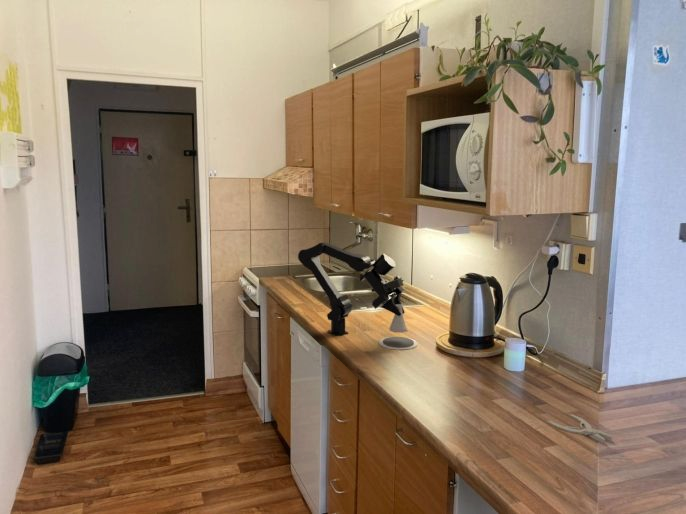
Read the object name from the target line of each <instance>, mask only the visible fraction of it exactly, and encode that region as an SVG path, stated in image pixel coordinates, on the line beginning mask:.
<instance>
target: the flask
mask: <svg viewBox="0 0 686 514" xmlns="http://www.w3.org/2000/svg"><path fill="white" fill-rule="evenodd" d="M396 306H397V308H398V309H399V311H400V313H401V315H400V316H398V315H396V314H394V316H393V318H392V320H391V322H390V326H389V328H388V331H390V332H393V333H406V332H408V329H407V325H406V321H405V318H404V314H403V313H402V308H403V309H404V305H403V304H402V305H396Z"/></svg>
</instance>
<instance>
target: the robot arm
mask: <svg viewBox="0 0 686 514" xmlns="http://www.w3.org/2000/svg"><path fill="white" fill-rule="evenodd" d="M323 254H325V255H327V256H329V257H331V258H333V259H336V260H338V261H340V262H343V263H345V264H346V265H348V267H349V268H351V269H352V270H353V271H355V272H357V273H360V274H359V282H362V281H364V280H365V281H366V282H367V283H368V285H369V286H370V287H371V288H372V289H371V292H372V293H375V294H376V295H377V297H376V298H374V300H372V304H371V305H372V307H373V308H374V309H375V310H376V309H377V308H378V309H379V308H381V309H383V310H387V312H390V313H392V314H394V315H395V314H396V315H398V316H400V315H401V313H400V311H399V309H398V308H397V306H396V305H403V304H402V302H401V295H402V294H403V293H404V292H405V289H404V288H403V286H404V279H403V278H402V277H401V276H400V275H397V276H394V277H393V280H388V279H384V278H383V276H385V277H386V276H387V274H389V273H390V272H391V271H392V270H394V268H395V267H396V266H397V264H396V262H395V260H394V259H393V258H391V257H390V256H389V255H386V253H382V254H381V255H380V256H379V257H378V258H377V259H375V260H374V259H371V258H370V256H368V255H365V254H364V255H363V254H361V253H353V252H350V251H348V250H344V249H343V248H340V247H337V246H336V245H333V244H330V243H329V242H327V241H322V242H319V243H318V244H316V245H314V246H312V247H308V248H305V249H301V250H299V252H298V254H297V259H298V262H300V263H301V264H302V266H303V267H304V268H306V269H307V270H309V271H310V272H311V273H312V275H313V276H314V278H315V280H316V281H317V283H318V284H319V286H320V287H321V288H322V290H323V293H325V295H326V296H327V298H328V300H329V306H330V308H331V311H330V312H329V313H327V315H326V317H327V320H328V321H330V329H328V330H327V333H329V334H331V335H334V336H341V335H346V334H347V335H348V334H349V331H347V330H346V318H348V317H349V315H350V314H351V312H352V310H353V304H352V300H351V299H349V297H348V295H347V294H346V293H345V294H341V293H340V291H339V290H338V289H337V287H336V286H335V284H334V283H333V282H332V280H331V278H330V276H329V275H328V273H327V272H326V271H325V269H324V267H323V266H322V265H321V258H320V257H321V255H323ZM364 271H365V272H364ZM361 272H364V273H361ZM402 313H403V315H404V314H405V309H404V307H403V308H402Z"/></svg>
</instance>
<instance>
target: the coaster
mask: <svg viewBox="0 0 686 514" xmlns="http://www.w3.org/2000/svg"><path fill="white" fill-rule="evenodd" d="M378 344H379V345H380V346H381V347H382V348H385V349H390V350H395V351H396V350H397V351H398V350H399V351H403V350H404V351H405V350H406V351H407V350H413V349H415V348H417V347H418V344H419V342H417V340H415V339H412V338H409V337H404V336H390V337H384V338H381V339H380V340H379V341H378Z"/></svg>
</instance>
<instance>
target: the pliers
mask: <svg viewBox="0 0 686 514" xmlns="http://www.w3.org/2000/svg"><path fill="white" fill-rule="evenodd" d="M569 416H570V417H572V418H573V419H575V420H577V421H578V422H580V424H579V425H580V428H579V427H575V426H563V425H561V424H559V423H556V422H553V421H552V420H547V424H549V425H551V426H552V427H553V426H554V427H555V428H558V429H561V430H562V431H563V430H564V431H567V432H569V433H572V434H573V433H574V434H581V435H584V436H588V437H590V438H592V439H593V440H595V441H597V442H599V443H601V444H603V445H604V444H605V443H606V441H609V442H612V441H613V436H612V435H610V434H608V433H606V432H604V431H601V430H599V429H595V428H593V426H592V425H591V424H590V423H588V422H587V421H586V420H585V419H583V418H582V417H579V416H577V415H574V414H573V413H571V414H570V415H569ZM583 425H584V427H585V428H584V427H583Z"/></svg>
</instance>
